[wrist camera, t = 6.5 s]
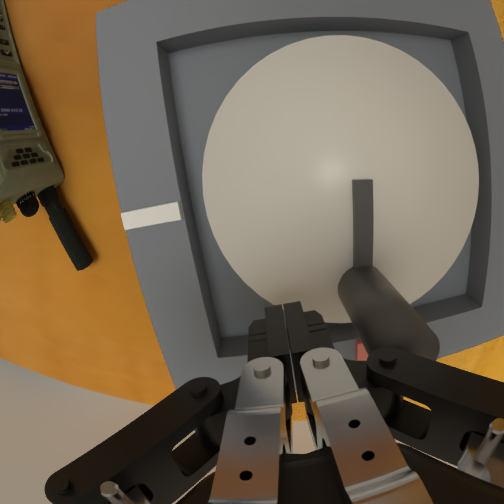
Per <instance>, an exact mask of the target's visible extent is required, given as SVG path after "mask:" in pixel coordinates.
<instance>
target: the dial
mask: <svg viewBox="0 0 504 504" xmlns="http://www.w3.org/2000/svg"><path fill="white" fill-rule="evenodd" d="M202 183H203V198H204V203H205V208H206V213H207V217H208V220H209V223H210V226H211V229H212V232H213V235H214V237H215V239H216V241H217V243H218V245H219V247H220V249H221V252H222V253H223V255H224V256H225V258H226V259H227V261H228V262H229V264H230V265H231V267H232V268H233V270H234V271H235V272H236V273H237V274H238V275H239V276H240V278H241V279H242V280H243V281H244V282H245V283H246V284H247V285H248V286H249V287H250V288H252V289H253V290H254V291H255V292H256V293H257V294H258V295H260V296H261V297H263V298H264V299H266V300H267V301H269V302H270V303H272V304H273V305H279V304H282V309H283V310H284V307H283V304H285V303H291V302H296V301H300V302H301V305H302V309H303V312H306V311H312V310H315V311H317V312H318V313H319V314H321V315H322V317H323V320H324V322H328V323H352V324H353V326H354V328H355V329H356V331H357V333H358V335H359V337H360V339H361V342H362V344H363V346H364V348H365V350H366V352H367V354H368V356H369V354H370V353H372V352H373V351H375V350H377V349H379V348H384V347H394V348H398V349H401V350H404V351H407V352H410V353H413V354H416V355H419V356H422V357H425V358H428V359H431V360H434V361H436V360H437V357H438V355H439V351H440V342H439V339H438V337H437V336H436V334H435V333H434V332H433V331H432V330H431V328H430V327H429V326H428V325H427V324H426V322H425V321H424V320H423V319H422V318H421V317H420V315H419V314H418V313H417V312H416V311H415V310H414V309H413V307H412V306H411V305H410V304H411V303H412V302H414V301H416V300H417V299H419V298H420V297H421V296H423V295H424V294H425V293H426V292H428V291H429V290H430V289H431V288H432V287H433V286H434V285H435V284H436V283H437V282H438V281H439V280H440V279H441V278H442V277H443V276H444V275H445V274H446V272H447V271H448V270H449V268H450V267H451V266H452V265H453V263H454V262H455V260H456V258H457V257H458V255H459V253H460V252H461V250H462V248H463V246H464V244H465V242H466V240H467V237H468V235H469V233H470V230H471V226H472V223H473V220H474V217H475V212H476V207H477V201H478V190H479V170H478V160H477V154H476V148H475V145H474V141H473V138H472V134H471V131H470V128H469V126H468V124H467V121H466V119H465V117H464V114H463V113H462V111H461V109H460V107H459V105H458V104H457V102H456V100H455V99H454V97H453V96H452V95H451V93H450V92H449V91H448V89H447V88H446V87H445V85H444V84H443V83H442V82H441V81H440V80H439V79H438V78H437V77H436V76H435V75H434V74H433V73H432V72H431V71H430V70H429V69H428V68H426V67H425V66H424V65H423V64H421V63H420V62H419V61H418V60H416V59H415V58H413V57H411V56H410V55H408V54H406V53H405V52H403V51H401V50H399V49H397V48H395V47H392V46H390V45H388V44H385V43H383V42H379V41H376V40H372V39H368V38H364V37H357V36H349V35H327V36H320V37H314V38H308V39H305V40H301V41H298V42H295V43H292V44H289V45H287V46H285V47H283V48H281V49H279V50H277V51H275V52H273V53H271V54H269V55H268V56H266V57H265V58H264V59H262V60H261V61H259V62H258V63H256V64H255V65H254V66H253V67H252V68H251V69H249V70H248V71H247V72H246V73H245V74H244V75H243V76H242V77H241V78H240V79H239V80H238V82H237V83H236V84H235V85H234V87H233V88H232V89H231V90H230V92H229V93H228V94H227V96H226V97H225V99H224V101H223V103H222V104H221V106H220V108H219V110H218V112H217V113H216V116H215V118H214V121H213V123H212V126H211V129H210V131H209V134H208V138H207V143H206V147H205V151H204V158H203V170H202Z"/></svg>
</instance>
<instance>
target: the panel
mask: <svg viewBox="0 0 504 504" xmlns="http://www.w3.org/2000/svg"><path fill="white" fill-rule="evenodd" d="M96 35H97V52H98V66H99V77H100V87H101V97H102V105H103V113H104V120H105V127H106V134H107V141H108V147H109V153H110V159H111V164H112V170H113V175H114V180H115V185H116V190H117V195H118V200H119V204H120V209H121V217H122V221H123V226H124V230H126V234H127V238H128V242H129V246H130V250H131V254H132V258H133V261H134V265H135V269H136V272H137V276H138V279H139V283H140V286H141V290H142V293H143V296H144V299H145V303H146V306H147V309H148V312H149V315H150V318H151V321H152V325H153V328H154V330H155V333H156V336H157V339H158V342H159V345H160V348H161V351H162V353H163V356H164V359H165V362H166V364H167V367H168V370H169V372H170V375H171V378H172V380H173V383H174V385H175V388H176V390H177V389H178V388H179V387H181V386H182V385H183V384H185V383H186V382H188V381H190V380H192V379H194V378H198V377H210V378H213V379H215V380H217V381H218V382H219V384H220V385H221V384H224V383H227V382H230V381H233V380H235V379H237V378H238V377H240V376H241V372H242V369H243V367H244V366H245V365H246V364H247V361H248V329H249V326H250V325H251V323H252V322H253V321H254V320H258V319H265V307H267V306H273V304H272V303H270V302H269V301H267V300H266V299H264V298H263V297H261V296H260V295H258V294H257V293H256V292H255V291H254V290H253V289H252V288H250V287H249V286H248V285H247V284H246V283H245V282H244V281H243V280H242V279H241V278H240V276H239V275H238V274H237V273H236V272H235V271H234V270H233V268H232V267H231V265H230V264H229V262H228V261H227V259H226V258H225V256H224V255H223V253H222V252H221V249H220V247H219V245H218V243H217V241H216V239H215V237H214V235H213V232H212V229H211V226H210V223H209V220H208V217H207V213H206V208H205V203H204V198H203V183H202V170H203V158H204V151H205V147H206V143H207V138H208V134H209V131H210V129H211V126H212V123H213V121H214V118H215V116H216V113H217V112H218V110H219V108H220V106H221V104H222V103H223V101H224V99H225V97H226V96H227V94H228V93H229V92H230V90H231V89H232V88H233V87H234V85H235V84H236V83H237V82H238V80H239V79H240V78H241V77H242V76H243V75H244V74H245V73H246V72H247V71H248V70H249V69H251V68H252V67H253V66H254V65H255V64H256V63H258V62H259V61H261V60H262V59H264V58H265V57H266V56H268V55H269V54H271V53H273V52H275V51H277V50H279V49H281V48H283V47H285V46H287V45H289V44H292V43H295V42H298V41H301V40H305V39H308V38H314V37H320V36H327V35H349V36H357V37H364V38H368V39H372V40H376V41H379V42H383V43H385V44H388V45H390V46H392V47H395V48H397V49H399V50H401V51H403V52H405V53H406V54H408V55H410V56H411V57H413V58H415V59H416V60H418V61H419V62H420V63H421V64H423V65H424V66H425V67H426V68H428V69H429V70H430V71H431V72H432V73H433V74H434V75H435V76H436V77H437V78H438V79H439V80H440V81H441V82H442V83H443V84H444V85H445V87H446V88H447V89H448V91H449V92H450V93H451V95H452V96H453V97H454V99H455V100H456V102H457V104H458V105H459V107H460V109H461V111H462V113H463V114H464V117H465V119H466V121H467V124H468V126H469V128H470V131H471V134H472V138H473V141H474V145H475V148H476V154H477V160H478V170H479V190H478V201H477V207H476V212H475V217H474V220H473V223H472V226H471V230H470V233H469V235H468V237H467V240H466V242H465V244H464V246H463V248H462V250H461V252H460V253H459V255H458V257H457V258H456V260H455V262H454V263H453V265H452V266H451V267H450V268H449V270H448V271H447V272H446V274H445V275H444V276H443V277H442V278H441V279H440V280H439V281H438V282H437V283H436V284H435V285H434V286H433V287H432V288H431V289H430V290H429V291H428V292H426V293H425V294H424V295H423V296H421V297H420V298H419V299H417V300H416V301H414V302H412V303H411V304H410V305H411V306H412V307H413V309H414V310H415V311H416V312H417V313H418V314H419V315H420V317H421V318H422V319H423V320H424V321H425V322H426V324H427V325H428V326H429V327H430V328H431V330H432V331H433V332H434V333H435V334H436V336H437V337H438V339H439V342H440V351H439V355H438V357H437V359H438V358H441V357H444V356H447V355H450V354H454V353H457V352H460V351H463V350H465V349H468V348H471V347H474V346H477V345H479V344H482V343H485V342H488V341H490V340H493V339H495V338H498V337H500V336H503V335H504V42H503V38H502V35H501V32H500V28H499V25H498V22H497V19H496V16H495V13H494V11H493V8H492V5H491V2H490V0H128V1H126V2H123V3H120V4H117V5H115V6H112V7H110V8H107V9H104V10H102V11H100V12H97V13H96ZM283 315H284V321H285V327H286V333H287V326H286V320H285V313H284V310H283ZM325 325H326V327H327V330H328V333H329V335H330V338H331V341H332V343H333V346H334V349H335V350H337V351H338V352H339V353H340V354H341V356H342V358H345V359H348V360H355V361H367V357H368V354H367V352H366V350H365V348H364V346H363V344H362V342H361V339H360V337H359V335H358V333H357V331H356V329H355V328H354V326H353V324H352V323H328V322H325ZM287 339H288V333H287ZM288 345H289V339H288ZM289 351H290V346H289ZM290 358H291V352H290ZM291 364H292V358H291ZM292 371H293V378H294V385H295V390H297V389H296V383H295V376H294V370H293V364H292Z"/></svg>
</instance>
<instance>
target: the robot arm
mask: <svg viewBox="0 0 504 504" xmlns="http://www.w3.org/2000/svg"><path fill="white" fill-rule="evenodd" d="M283 307H284V313H285V320H286V326H287V333H288V339H289V345H288V339H287V333H286V327H285V321H284V315H283V309H282V304H279V305H273V306H267V307H265V319H258V320H254V321H253V322H252V323H251V325H250V326H249V329H248V361H247V364H246V365H245V366H244V367H243V369H242V372H241V376H240V377H238V378H237V379H235V380H233V381H230V382H227V383H224V384H221V385H220V384H219V382H218V381H217V380H215V379H213V378H210V377H198V378H194V379H192V380H190V381H188V382H186V383H185V384H183V385H182V386H181V387H179V388H178V389H177V390H175V391H174V392H173V393H171V394H170V395H169V396H167V397H166V398H165V399H163V400H162V401H160V402H159V403H158V404H156V405H155V406H154V407H152V408H151V409H149V410H148V411H147V412H145V413H144V414H142V415H141V416H140V417H138V418H137V419H136V420H134V421H133V422H131V423H130V424H128V425H127V426H125V427H124V428H122V429H121V430H119V431H118V432H117V433H115V434H114V435H112V436H111V437H109V438H108V439H106V440H105V441H103V442H102V443H100V444H99V445H97V446H96V447H94V448H93V449H91V450H90V451H88V452H87V453H85V454H84V455H82V456H81V457H79V458H77V459H76V460H75V461H73V462H71V463H69V464H68V465H66V466H65V467H63V468H61V469H60V470H58V471H57V472H55V473H54V474H52V475H51V476H50V477H49V478H48V480H47V482H46V484H45V494H46V497H47V499H48V500H49V501H50V502H52V503H53V504H172V503H173V502H174V501H176V500H177V499H178V498H179V497H180V496H182V495H183V494H184V493H185V492H186V491H188V490H189V489H190V488H191V487H192V486H194V485H195V484H196V483H197V482H198V481H199V480H200V479H201V478H202V477H204V476H205V475H206V474H207V473H208V472H209V471H210V470H211V469H212V468H214V467H215V466H216V465H217V466H216V471H215V472H213V473H212V474H210V475H208V476H207V477H205V478H204V479H203V480H201V481H200V482H199V483H198V484H197V485H196V486H195V487H194V488H193V489H192V490H190V491H189V492H188V493H187V494H186V495H185V496H184V497H183V498H182V499H180V500H179V501H178V502H177V503H176V504H504V382H500V381H497V380H494V379H490V378H487V377H484V376H481V375H477V374H474V373H471V372H468V371H465V370H461V369H458V368H455V367H452V366H449V365H446V364H443V363H440V362H437V361H434V360H431V359H428V358H425V357H422V356H419V355H416V354H413V353H410V352H407V351H404V350H401V349H398V348H394V347H384V348H379V349H377V350H375V351H373V352H372V353H370V354H369V356H368V357H367V361H355V360H348V359H345V358H342V356H341V354H340V353H339V352H338V351H337V350H335V349H334V346H333V343H332V341H331V338H330V335H329V333H328V330H327V327H326V325H325V322H324V320H323V317H322V315H321V314H319V313H318V312H317V311H315V310H312V311H306V312H303V309H302V305H301V302H300V301H296V302H291V303H285V304H283ZM289 346H290V351H289ZM290 352H291V358H292V364H293V370H294V376H295V383H296V389H297V395H298V401H299V402H305V408H306V417H307V421H308V424H309V428H310V431H311V435H312V438H313V442H314V445H315V449H316V450H315V451H313V452H310V453H307V454H292V417H291V415H292V403H297V399H296V392H295V385H294V378H293V371H292V364H291V358H290ZM403 396H404V397H407V398H409V399H412V400H414V401H417V402H419V403H422V404H424V405H426V406H428V407H429V408H430V409H431V411H430V410H428V409H425V408H423V407H420V406H418V405H415V404H413V403H411V402H408V401H406V400H403ZM193 430H195V433H194V434H193V435H191V436H190V437H189V438H188V439H187V440H185V441H184V442H183V443H182V444H180V445H179V446H178V447H177V448H176V449H174V450H173V451H172V449H173V448H174V446H175V445H176V444H177V443H178V442H180V441H181V440H182V439H184V438H185V437H186V436H187V435H189V434H190V433H191V432H192V431H193ZM394 439H396V440H398V441H400V442H403V443H405V444H407V445H409V446H407V445H404V444H400V443H396V442H395V440H394ZM410 446H411V447H410ZM412 447H413V448H412ZM414 448H415V449H414ZM416 449H418V450H420V451H422V452H424V453H427V454H429V455H431V456H434V457H436V458H439V459H441V460H443V461H446V462H448V463H450V464H453V465H456V466H458V469H456V468H454V467H452V466H450V465H447V464H445V463H443V462H441V461H439V460H437V459H435V458H432V457H430V456H428V455H426V454H424V453H422V452H420V451H418V450H416Z"/></svg>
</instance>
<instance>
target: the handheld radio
mask: <svg viewBox="0 0 504 504" xmlns="http://www.w3.org/2000/svg"><path fill="white" fill-rule="evenodd" d="M63 180H64V174H63V171H62V169H61V167H60V165H59V162H58V160H57V158H56V156H55V154H54V151H53V149H52V147H51V144H50V142H49V140H48V137H47V135H46V133H45V130H44V128H43V125H42V123H41V120H40V118H39V115H38V113H37V110H36V108H35V105H34V102H33V100H32V97H31V94H30V91H29V88H28V86H27V83H26V80H25V77H24V74H23V71H22V67H21V64H20V61H19V58H18V54H17V51H16V48H15V44H14V40H13V37H12V33H11V29H10V25H9V21H8V17H7V12H6V8H5V3H4V0H0V214H1V215H0V221H1V217H2V218H3V222H5V223H7V222H9V221H11V220H12V219H14V218H15V217H16V211H14V210H15V208H14V207H13V204H17V206H18V208H19V209H20V211H21V213H22V214H23V215H24V216H26V217H31V216H33V215H34V214H36V212H37V211H38V208H39V203H38V201H37V198H36V197H37V196H38V198H39V200H40V202H41V204H42V206H44V207H45V209H46V211H47V213H48V215H49V220H50V222H51V224H52V226H53V227H54V229H55V231H56V233H57V235H58V237H59V239H60V241H61V243H62V245H63V246H64V248H65V250H66V252H67V254H68V255H69V257H70V259H71V261H72V262H73V264H74V266H75V268H76V269H77V271H79V270H83V269H85V268H86V267H88V266H89V265H90V264H91V263H92V261H93V258H92V257H91V255H90V253H89V252H88V250H87V248H86V246H85V245H84V243H83V241H82V239H81V238H80V236H79V234H78V232H77V230H76V228H75V227H74V225H73V223H72V221H71V219H70V217H69V215H68V213H67V211H66V209H65V208H63V207H62V205H61V203H60V201H59V199H58V197H59V195H58V193H57V191H56V189H55V188H56V187H57V186H58V185H60V184H61V183H62V182H63ZM22 201H24V202H22ZM20 202H21V204H20Z"/></svg>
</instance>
